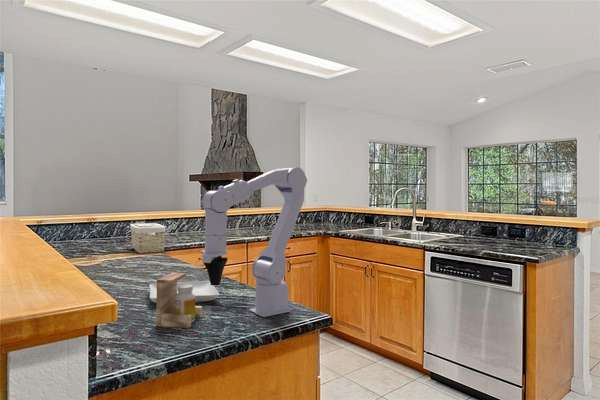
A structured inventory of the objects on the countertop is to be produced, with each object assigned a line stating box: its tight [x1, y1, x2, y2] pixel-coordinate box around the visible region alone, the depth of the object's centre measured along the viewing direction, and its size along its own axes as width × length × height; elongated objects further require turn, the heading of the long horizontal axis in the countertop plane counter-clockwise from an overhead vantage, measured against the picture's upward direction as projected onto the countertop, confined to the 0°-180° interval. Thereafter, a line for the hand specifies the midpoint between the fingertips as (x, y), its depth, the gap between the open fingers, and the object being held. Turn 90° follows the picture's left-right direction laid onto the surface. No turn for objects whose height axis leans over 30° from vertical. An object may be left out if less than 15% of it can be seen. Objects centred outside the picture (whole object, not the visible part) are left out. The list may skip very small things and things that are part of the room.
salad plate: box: [148, 280, 220, 304], centre depth 136 cm, size 21×21×3 cm
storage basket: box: [129, 222, 167, 254], centre depth 238 cm, size 24×16×15 cm
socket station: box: [155, 272, 203, 329], centre depth 111 cm, size 9×10×12 cm
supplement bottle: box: [175, 284, 196, 324], centre depth 111 cm, size 5×5×10 cm
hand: (215, 284), depth 111 cm, fingers closed
